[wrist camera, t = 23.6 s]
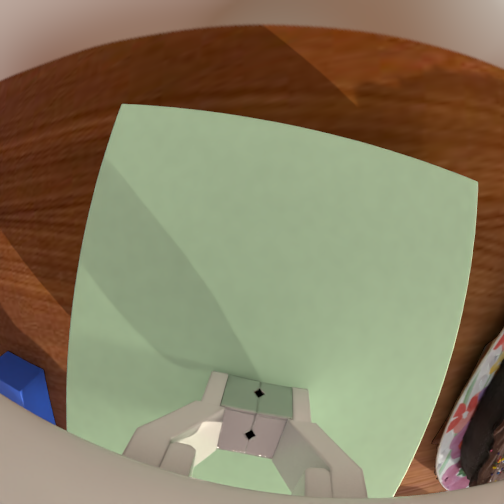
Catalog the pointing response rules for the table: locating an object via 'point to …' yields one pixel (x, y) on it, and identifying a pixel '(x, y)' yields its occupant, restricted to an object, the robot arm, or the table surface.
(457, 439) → the chocolate cake
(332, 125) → the table surface
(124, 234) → the lunchbox lid
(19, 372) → the block
